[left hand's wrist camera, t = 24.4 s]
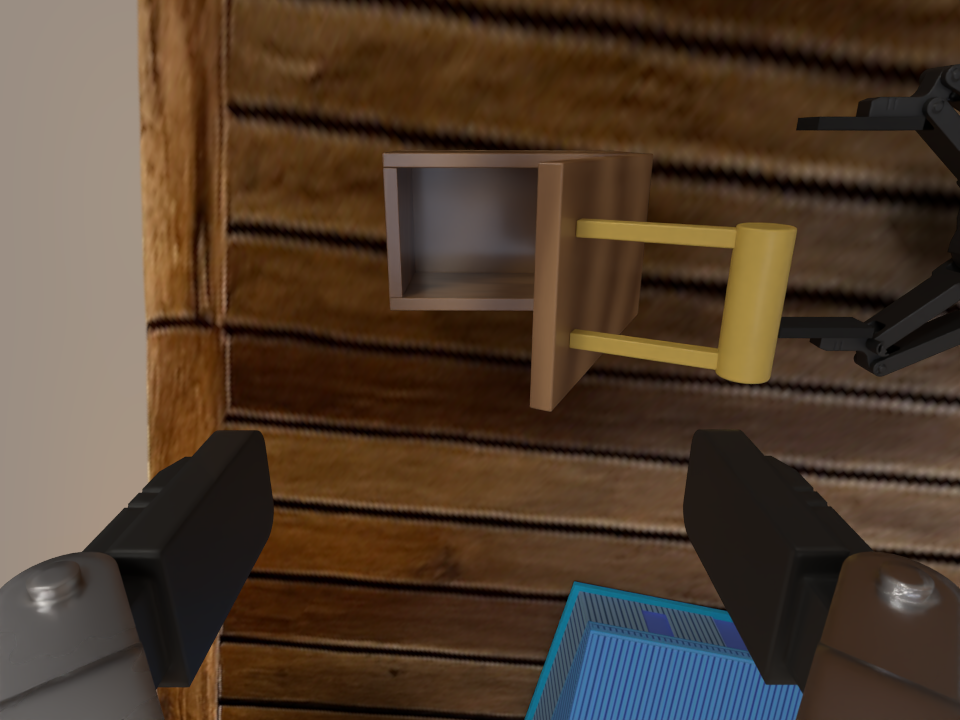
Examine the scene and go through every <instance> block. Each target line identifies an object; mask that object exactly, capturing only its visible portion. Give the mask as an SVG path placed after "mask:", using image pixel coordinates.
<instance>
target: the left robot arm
mask: <svg viewBox="0 0 960 720" xmlns="http://www.w3.org/2000/svg"><path fill="white" fill-rule="evenodd" d="M273 515H274V505H273V497H272V490H271V482H270V475H269V468H268V461H267V454H266V446H265V441H264V438H263V435H262V434H261V432H260V431H258V430H219V431H215V432H214V433H213V434H212V435H211V436H210V437H209V438H208V439H207V441H206V442H205V443H204V444H203V445H202V446H201V447H200V448H199V449H198V450H197V452H196V453H195V454H194V455H193V456H192V457H184V458H182V459H181V460H179V461H177V462H175V463H174V464H172V465H170V466H168V467H167V468H165V469H163V470H162V471H160V472H159V473H158V474H157V475H156V476H155V477H154V478H153V479H152V480H151V481H150V482H149V483H148V484H147V485H146V486H145V487H144V488H143V491H142V493H138V494H137V495H136V497H135V498H134V499H133V500H132V501H131V502H130V503H129V504H128V508H124V509H123V510H122V511H121V512H120V513H119V514H118V515H117V516H116V517H115V518H114V519H113V520H112V521H111V522H110V523H109V524H108V525H107V526H106V528H105V529H104V530H103V531H102V532H101V533H100V534H99V535H98V536H97V537H96V538H95V539H94V540H93V541H92V542H91V543H90V544H89V545H88V546H87V547H86V548H85V549H84V550H83V551H82V552H78V553H71V554H67V555H62V556H59V557H55V558H52V559H49V560H47V561H44V562H41V563H39V564H37V565H35V566H32V567H31V568H29V569H27V570H25V571H23V572H21V573H20V574H18V575H17V576H15V577H14V578H12V579H11V580H10V581H8V582H7V583H6V584H5V585H4V586H3V587H2V588H1V589H0V720H164V716H163V713H162V709H161V706H160V703H159V699H158V696H157V692H156V689H157V687H190V685H191V683H192V681H193V679H194V677H195V675H196V674H197V672H198V670H199V668H200V666H201V664H202V662H203V660H204V659H205V657H206V655H207V653H208V651H209V649H210V647H211V645H212V643H213V642H214V640H215V638H216V636H217V634H218V632H219V630H220V628H221V627H222V625H223V623H224V621H225V619H226V617H227V615H228V613H229V611H230V610H231V608H232V606H233V604H234V602H235V600H236V598H237V596H238V594H239V593H240V591H241V589H242V587H243V585H244V583H245V581H246V579H247V578H248V576H249V574H250V572H251V570H252V568H253V566H254V564H255V562H256V561H257V559H258V557H259V555H260V553H261V551H262V549H263V547H264V546H265V544H266V542H267V540H268V538H269V535H270V532H271V529H272V524H273ZM683 515H684V523H685V528H686V532H687V535H688V537H689V539H690V541H691V543H692V545H693V547H694V549H695V551H696V552H697V554H698V556H699V558H700V560H701V562H702V564H703V566H704V568H705V570H706V571H707V573H708V575H709V577H710V579H711V581H712V583H713V585H714V587H715V589H716V591H717V592H718V594H719V596H720V598H721V600H722V602H723V604H724V606H725V608H726V610H727V612H728V613H729V615H730V617H731V619H732V621H733V623H734V625H735V627H736V629H737V631H738V632H739V634H740V636H741V638H742V640H743V642H744V644H745V646H746V648H747V650H748V652H749V653H750V655H751V657H752V659H753V661H754V663H755V665H756V667H757V669H758V671H759V673H760V674H761V676H762V678H763V680H764V682H765V684H766V685H798V687H799V689H800V690H801V692H802V694H803V696H802V699H801V703H800V706H799V709H798V713H797V716H796V720H960V589H959V588H958V587H957V586H956V585H955V584H954V583H953V582H952V581H950V580H949V579H948V578H946V577H945V576H943V575H942V574H940V573H939V572H937V571H935V570H933V569H931V568H930V567H928V566H925V565H923V564H921V563H919V562H916V561H913V560H911V559H908V558H905V557H901V556H898V555H893V554H889V553H882V552H874V551H873V550H872V549H871V548H870V547H869V546H868V545H867V544H866V543H865V542H864V540H863V539H862V538H861V537H860V536H859V535H858V534H857V533H856V532H855V531H854V530H853V529H852V528H851V527H850V526H849V525H848V524H847V523H846V522H845V521H844V520H843V519H842V517H841V516H840V515H839V514H838V513H837V512H836V511H835V510H834V509H833V508H832V507H831V506H827V502H826V501H825V500H824V499H823V498H822V497H821V496H820V494H819V493H818V492H814V491H813V487H812V486H811V485H810V484H809V483H808V482H807V481H806V480H805V479H804V478H803V477H802V476H801V475H800V474H799V473H798V471H796V470H795V469H793V468H791V467H790V466H788V465H786V464H784V463H783V462H781V461H779V460H777V459H776V458H774V457H772V456H764V455H763V454H762V453H761V452H760V450H759V449H758V448H757V447H756V446H755V445H754V444H753V443H752V442H751V440H750V439H749V438H748V437H747V436H746V435H745V434H744V433H743V432H742V431H741V430H697V431H696V432H695V434H694V436H693V439H692V444H691V451H690V458H689V466H688V473H687V480H686V488H685V495H684V503H683Z"/></svg>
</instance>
